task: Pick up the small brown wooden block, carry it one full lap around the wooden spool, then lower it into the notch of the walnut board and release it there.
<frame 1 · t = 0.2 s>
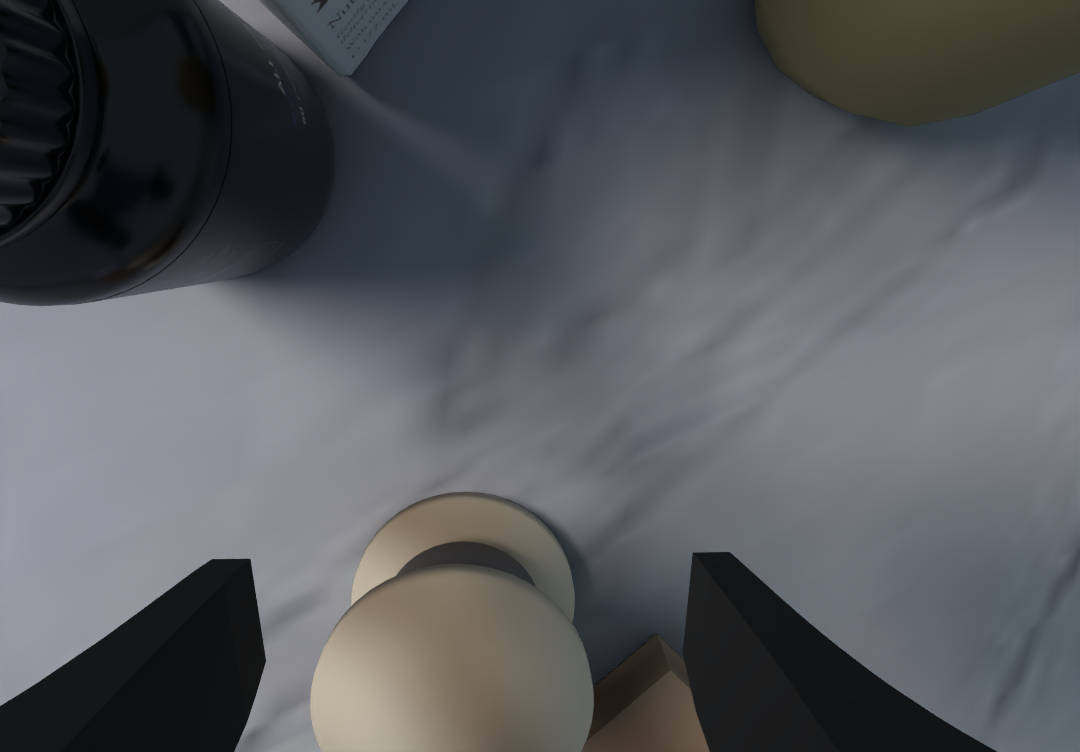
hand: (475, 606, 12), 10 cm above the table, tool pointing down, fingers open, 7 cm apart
supplement bottle: (218, 154, 20), on the table
spool: (465, 594, 23), on the table
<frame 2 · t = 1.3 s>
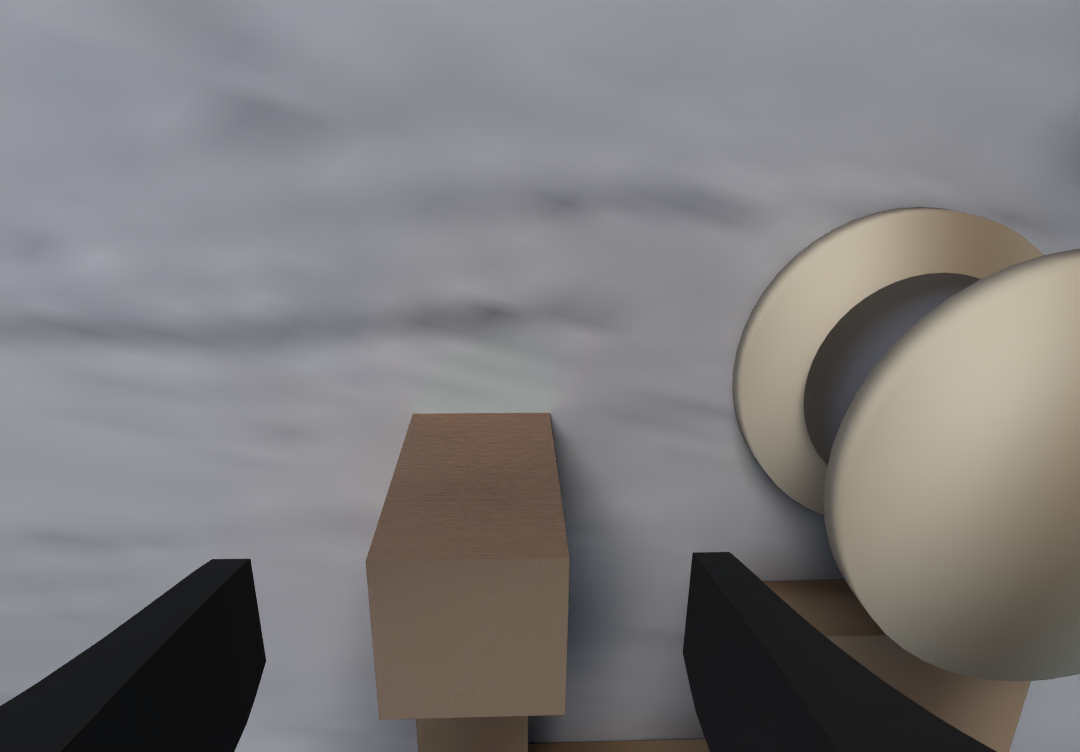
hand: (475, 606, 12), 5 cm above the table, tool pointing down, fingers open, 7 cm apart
notched board: (699, 679, 18), on the table
brown wooden block: (482, 474, 16), on the table
spool: (890, 369, 16), on the table
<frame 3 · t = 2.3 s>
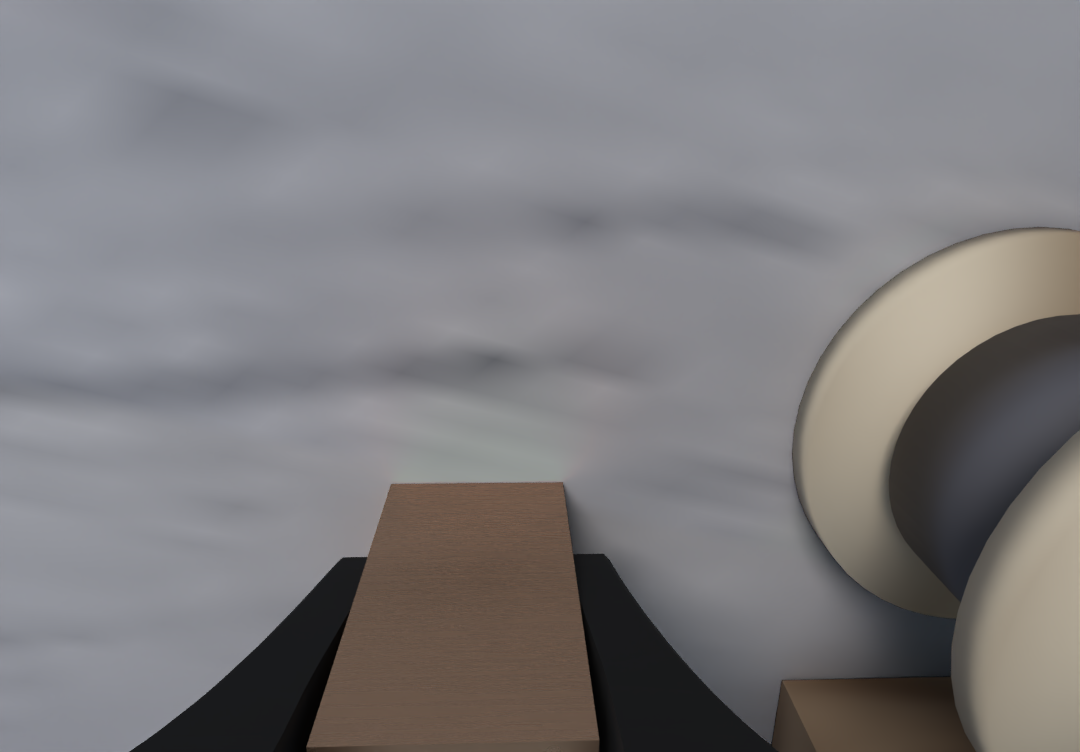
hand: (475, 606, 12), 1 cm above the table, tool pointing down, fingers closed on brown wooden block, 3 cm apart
brown wooden block: (479, 556, 13), on the table, touching gripper
spool: (990, 428, 12), on the table
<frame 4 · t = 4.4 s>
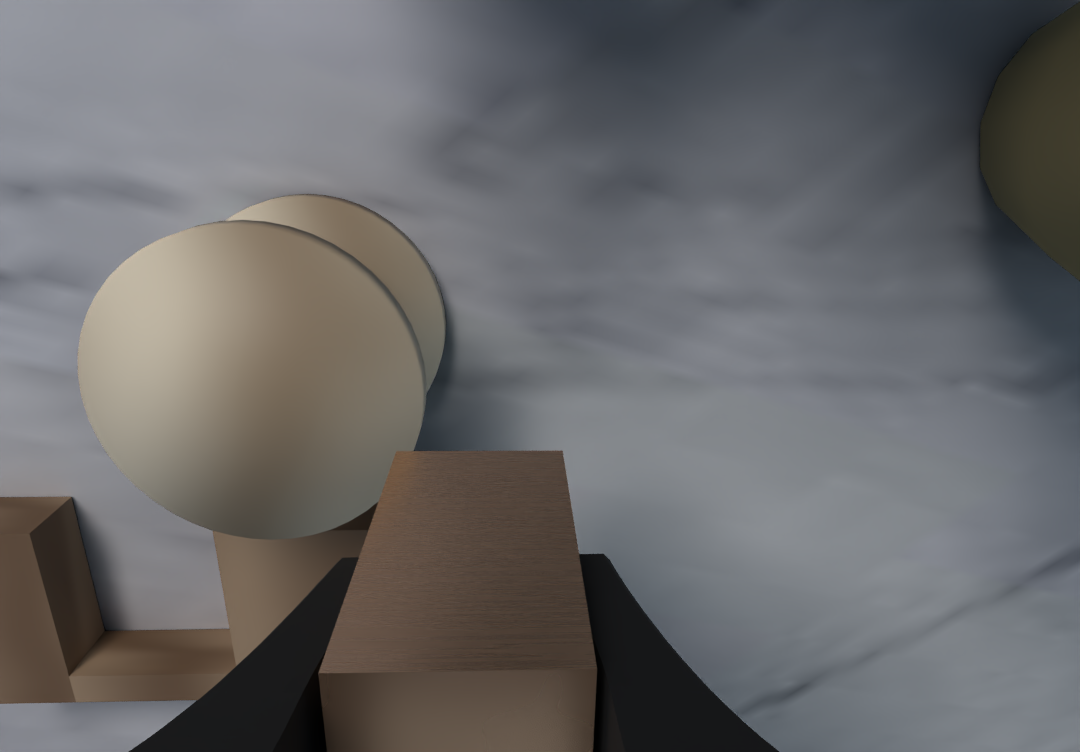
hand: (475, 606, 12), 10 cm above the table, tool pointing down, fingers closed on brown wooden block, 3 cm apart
squeeze bottle: (1078, 121, 19), on the table
notched board: (235, 578, 23), on the table
brown wooden block: (480, 523, 13), point 8 cm above the table, touching gripper
spool: (320, 322, 20), on the table
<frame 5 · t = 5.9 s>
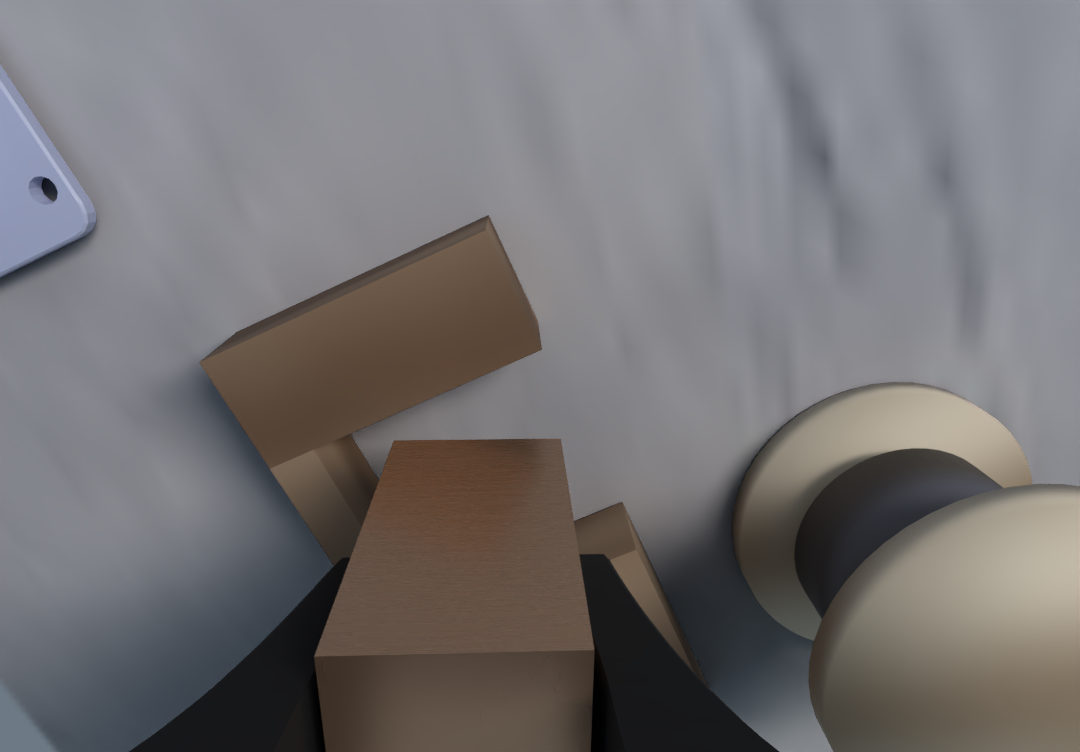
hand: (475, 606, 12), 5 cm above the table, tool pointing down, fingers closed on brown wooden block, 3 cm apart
notched board: (501, 532, 17), on the table
brown wooden block: (479, 512, 13), point 3 cm above the table, touching gripper
spool: (872, 514, 18), on the table
when the fingers open (3 cm above the table, at t = 6.7 s): brown wooden block stays where it is, on the table.
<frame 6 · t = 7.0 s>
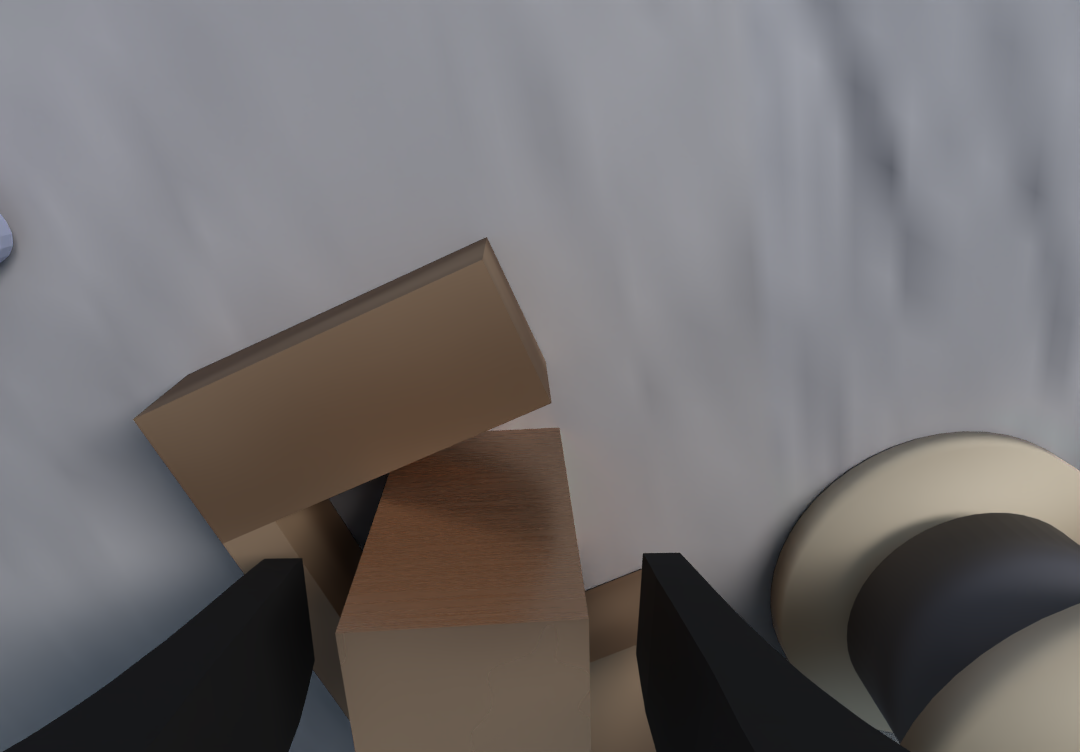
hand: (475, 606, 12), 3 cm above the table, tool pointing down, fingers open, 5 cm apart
notched board: (501, 602, 15), on the table
brown wooden block: (485, 500, 14), on the table
spool: (933, 581, 15), on the table
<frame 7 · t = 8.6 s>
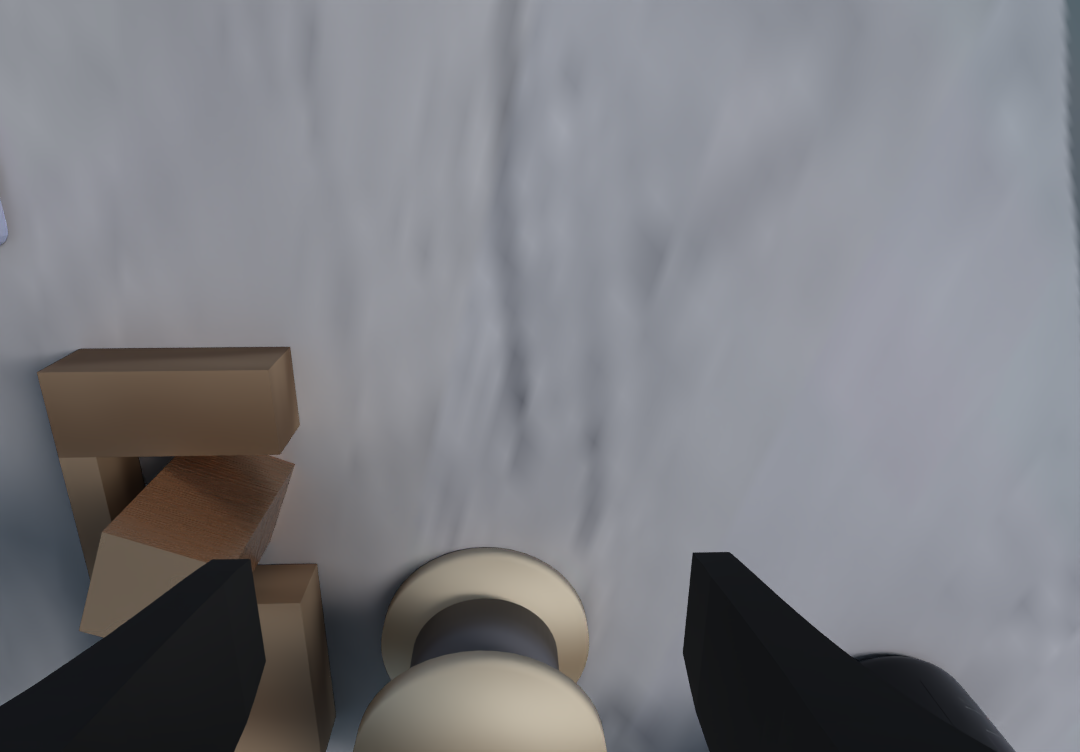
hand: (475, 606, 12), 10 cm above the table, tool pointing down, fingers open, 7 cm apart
notched board: (221, 552, 23), on the table
brown wooden block: (235, 488, 22), on the table
supplement bottle: (871, 715, 27), on the table
spool: (486, 633, 25), on the table
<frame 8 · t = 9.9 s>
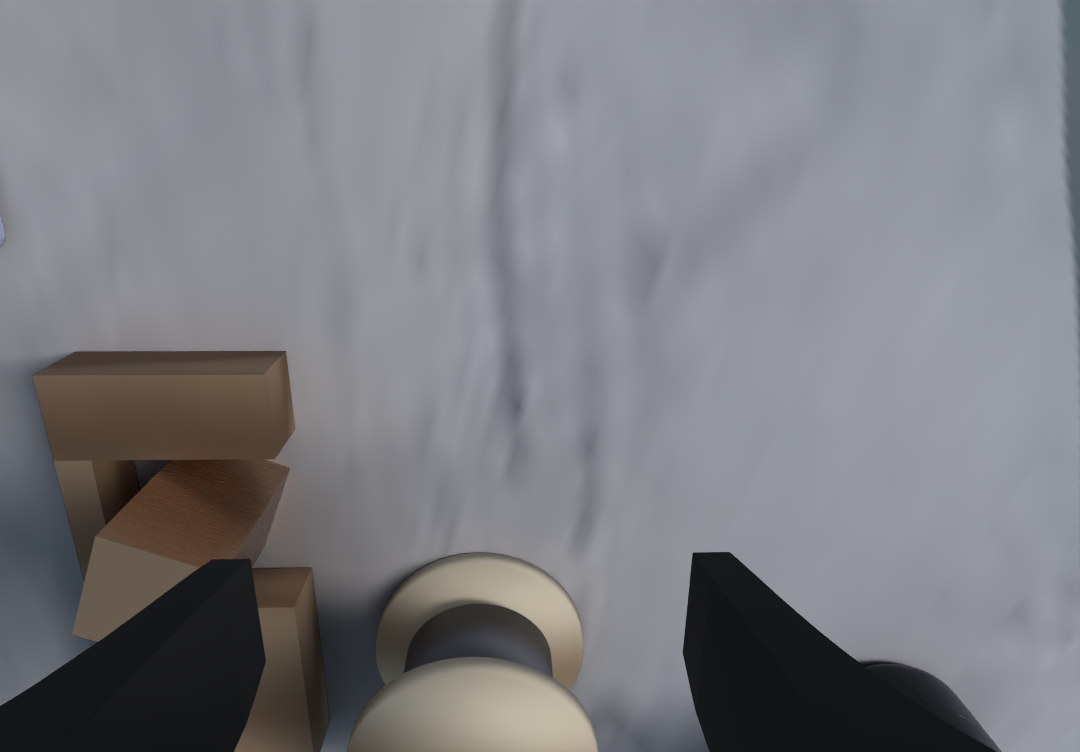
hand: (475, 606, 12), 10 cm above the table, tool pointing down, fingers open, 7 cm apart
notched board: (216, 556, 23), on the table
brown wooden block: (230, 492, 22), on the table
supplement bottle: (865, 723, 27), on the table
spool: (480, 638, 25), on the table
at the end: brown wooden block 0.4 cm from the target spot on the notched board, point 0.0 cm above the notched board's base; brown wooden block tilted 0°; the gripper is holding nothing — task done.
